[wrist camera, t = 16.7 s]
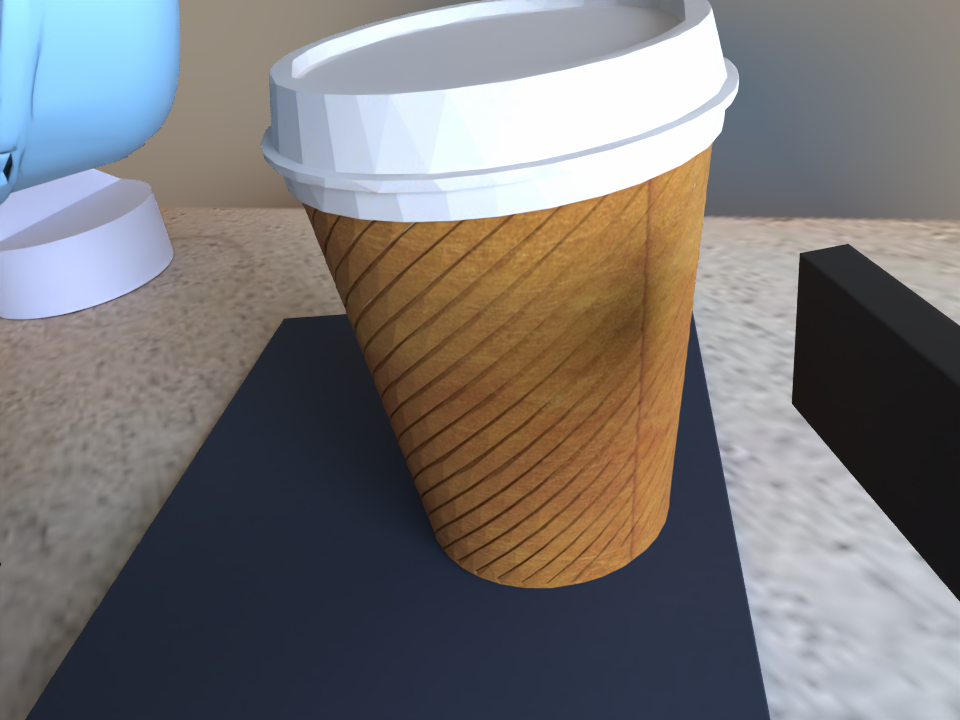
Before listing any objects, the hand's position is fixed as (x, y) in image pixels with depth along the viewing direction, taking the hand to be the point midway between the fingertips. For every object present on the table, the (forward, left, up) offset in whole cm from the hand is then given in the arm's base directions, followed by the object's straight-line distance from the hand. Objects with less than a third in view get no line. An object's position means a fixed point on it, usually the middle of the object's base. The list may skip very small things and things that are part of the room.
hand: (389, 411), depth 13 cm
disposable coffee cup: (+1, +7, -8) cm, 11 cm away
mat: (-2, +8, -8) cm, 12 cm away
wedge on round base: (-25, +26, -8) cm, 37 cm away
